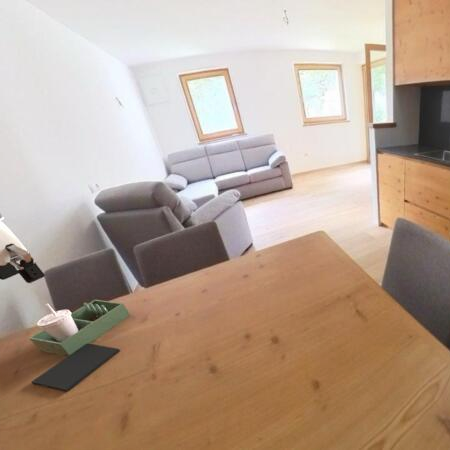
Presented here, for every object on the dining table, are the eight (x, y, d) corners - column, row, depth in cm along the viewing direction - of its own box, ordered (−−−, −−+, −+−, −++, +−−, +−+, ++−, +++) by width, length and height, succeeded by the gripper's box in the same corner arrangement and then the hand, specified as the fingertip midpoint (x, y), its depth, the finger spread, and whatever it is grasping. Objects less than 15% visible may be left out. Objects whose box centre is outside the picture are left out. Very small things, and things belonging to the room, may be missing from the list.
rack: (39, 350, 80) (23, 333, 77) (102, 310, 94) (91, 294, 91) (70, 356, 77) (55, 338, 74) (130, 314, 91) (119, 298, 88)
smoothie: (92, 336, 84) (64, 301, 77) (62, 353, 78) (30, 316, 72) (82, 330, 86) (55, 295, 80) (53, 346, 81) (21, 310, 75)
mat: (32, 383, 70) (30, 381, 70) (88, 345, 81) (87, 343, 80) (67, 391, 68) (65, 389, 68) (120, 350, 78) (118, 348, 78)
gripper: (-77, 224, 63) (-21, 284, 71) (-27, 228, 59) (26, 290, 67) (-26, 211, 69) (20, 267, 77) (22, 213, 66) (65, 272, 73)
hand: (23, 278), depth 72 cm, fingers open, 9 cm apart
